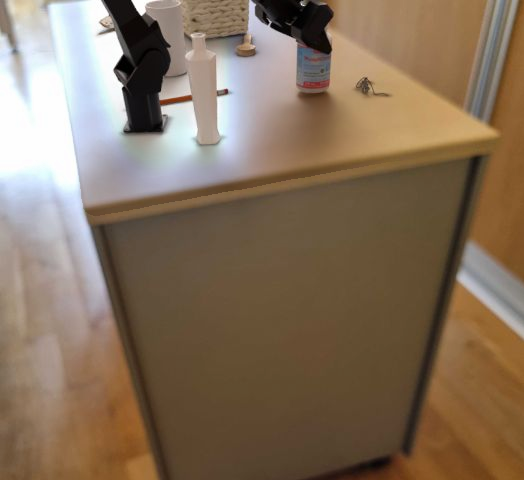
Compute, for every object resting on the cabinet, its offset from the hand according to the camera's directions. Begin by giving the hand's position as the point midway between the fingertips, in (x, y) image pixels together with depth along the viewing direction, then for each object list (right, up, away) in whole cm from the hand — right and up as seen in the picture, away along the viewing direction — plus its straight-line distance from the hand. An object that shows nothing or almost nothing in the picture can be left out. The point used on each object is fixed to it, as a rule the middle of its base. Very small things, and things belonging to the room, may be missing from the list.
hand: (321, 47), depth 99 cm
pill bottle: (-1, -5, +4) cm, 7 cm away
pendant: (+9, -6, +4) cm, 12 cm away
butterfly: (-47, +29, +44) cm, 71 cm away
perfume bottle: (-19, -20, -9) cm, 29 cm away
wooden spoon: (-14, +14, +26) cm, 33 cm away
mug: (-29, +4, +17) cm, 34 cm away
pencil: (-25, -8, +4) cm, 27 cm away
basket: (-23, +26, +39) cm, 52 cm away
